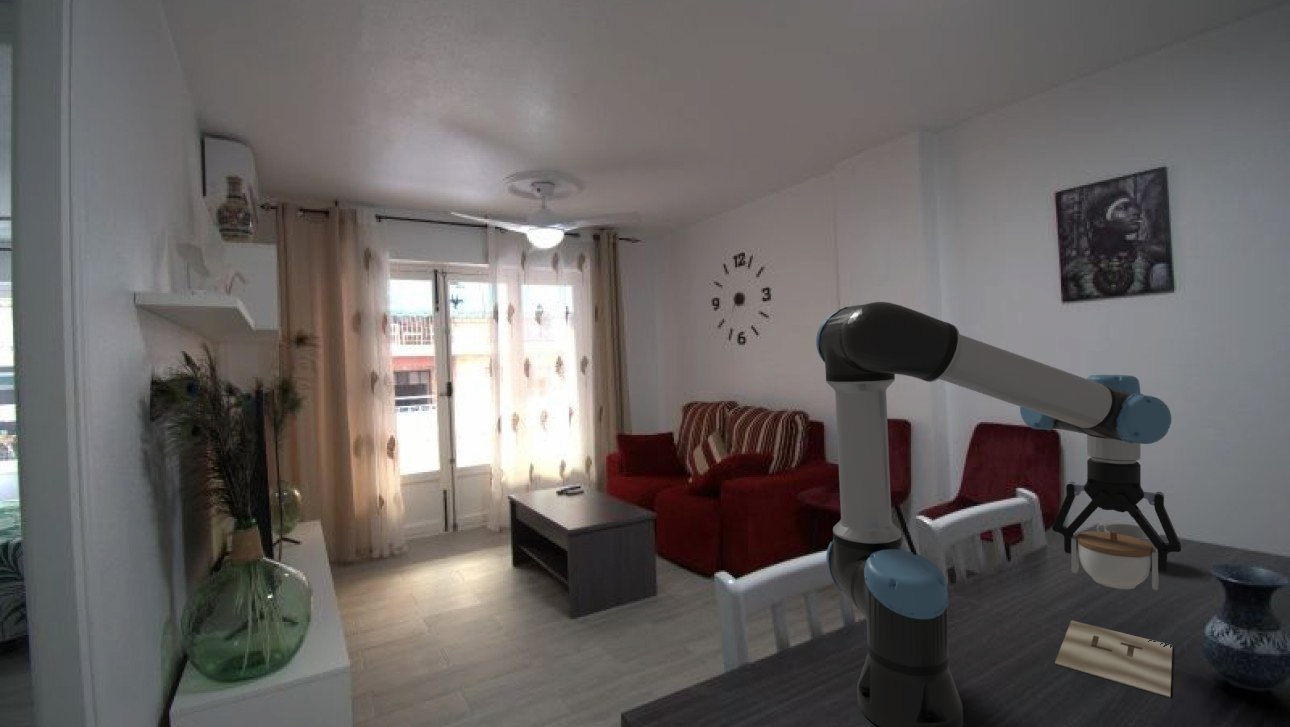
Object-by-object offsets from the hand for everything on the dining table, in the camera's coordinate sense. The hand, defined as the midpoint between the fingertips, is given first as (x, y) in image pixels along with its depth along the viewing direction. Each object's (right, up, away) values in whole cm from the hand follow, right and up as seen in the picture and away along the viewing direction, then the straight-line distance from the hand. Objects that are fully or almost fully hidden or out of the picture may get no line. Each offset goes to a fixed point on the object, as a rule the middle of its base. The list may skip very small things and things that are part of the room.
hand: (1113, 578), depth 104 cm
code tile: (-1, -13, -2) cm, 13 cm away
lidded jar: (0, -1, 0) cm, 1 cm away
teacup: (+37, -11, +41) cm, 56 cm away
